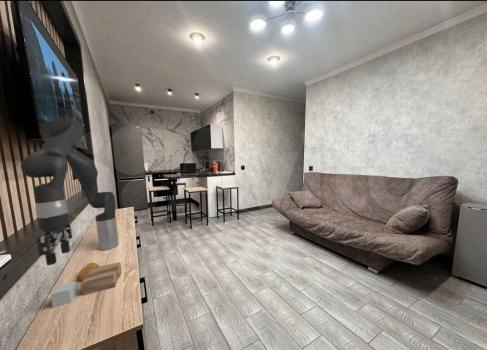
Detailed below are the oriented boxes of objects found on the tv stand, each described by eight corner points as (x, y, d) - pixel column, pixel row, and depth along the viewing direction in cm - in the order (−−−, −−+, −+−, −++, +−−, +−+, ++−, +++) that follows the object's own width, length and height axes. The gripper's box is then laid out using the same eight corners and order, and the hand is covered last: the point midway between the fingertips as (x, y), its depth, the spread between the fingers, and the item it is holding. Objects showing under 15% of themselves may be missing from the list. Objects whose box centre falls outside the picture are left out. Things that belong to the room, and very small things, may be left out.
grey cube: (61, 297, 66) (59, 285, 66) (78, 293, 68) (76, 281, 67) (52, 308, 61) (50, 294, 61) (71, 302, 63) (69, 289, 63)
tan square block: (94, 279, 76) (92, 268, 75) (121, 272, 79) (120, 262, 79) (83, 295, 66) (81, 282, 66) (115, 286, 70) (113, 274, 70)
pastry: (92, 279, 76) (91, 271, 76) (72, 284, 74) (71, 275, 73) (101, 267, 85) (100, 260, 84) (83, 271, 82) (82, 264, 82)
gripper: (51, 210, 67) (57, 251, 69) (22, 221, 54) (30, 272, 55) (76, 207, 70) (82, 247, 71) (54, 217, 57) (61, 265, 58)
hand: (59, 258), depth 63 cm, fingers open, 8 cm apart
